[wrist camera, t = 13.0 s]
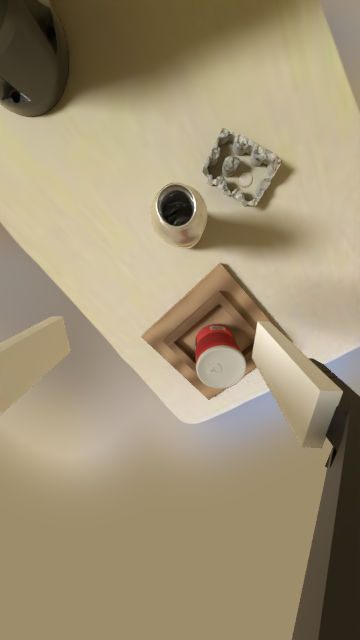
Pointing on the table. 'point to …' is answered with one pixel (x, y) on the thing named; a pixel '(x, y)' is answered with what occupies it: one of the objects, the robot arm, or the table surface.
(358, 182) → the table surface
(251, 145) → the egg carton
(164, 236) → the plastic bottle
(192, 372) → the walnut holder
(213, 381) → the canned food
